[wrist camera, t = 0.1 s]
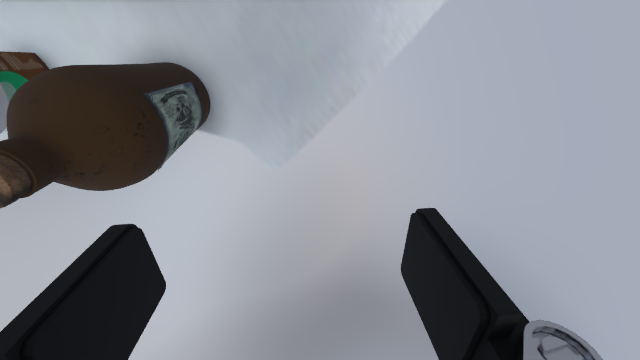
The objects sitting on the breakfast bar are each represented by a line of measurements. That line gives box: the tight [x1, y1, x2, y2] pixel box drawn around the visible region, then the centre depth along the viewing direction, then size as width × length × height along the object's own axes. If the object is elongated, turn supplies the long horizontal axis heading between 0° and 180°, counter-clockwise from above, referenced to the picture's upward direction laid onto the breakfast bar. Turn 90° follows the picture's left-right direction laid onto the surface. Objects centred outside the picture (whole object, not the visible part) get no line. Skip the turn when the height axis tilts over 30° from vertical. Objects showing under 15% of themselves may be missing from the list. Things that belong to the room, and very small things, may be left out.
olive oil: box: [0, 63, 210, 208], centre depth 24 cm, size 11×11×25 cm
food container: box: [0, 52, 49, 134], centre depth 30 cm, size 12×6×10 cm, turn 125°
